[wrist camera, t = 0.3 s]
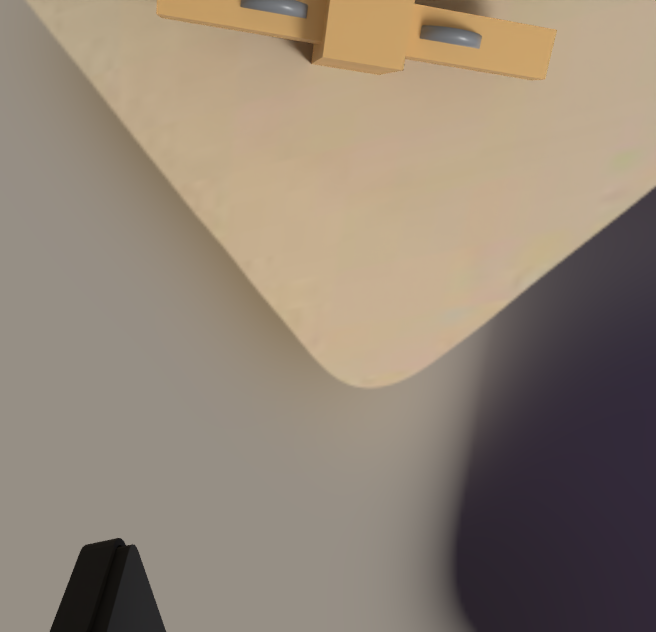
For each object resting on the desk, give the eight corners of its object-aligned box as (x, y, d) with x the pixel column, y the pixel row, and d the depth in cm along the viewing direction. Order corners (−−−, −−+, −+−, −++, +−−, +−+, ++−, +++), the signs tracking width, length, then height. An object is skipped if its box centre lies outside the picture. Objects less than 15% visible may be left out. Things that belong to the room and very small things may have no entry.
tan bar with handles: (172, -42, 32) (155, -72, 26) (522, 23, 35) (575, 8, 29) (168, 40, 33) (150, 28, 27) (506, 95, 36) (553, 95, 30)
